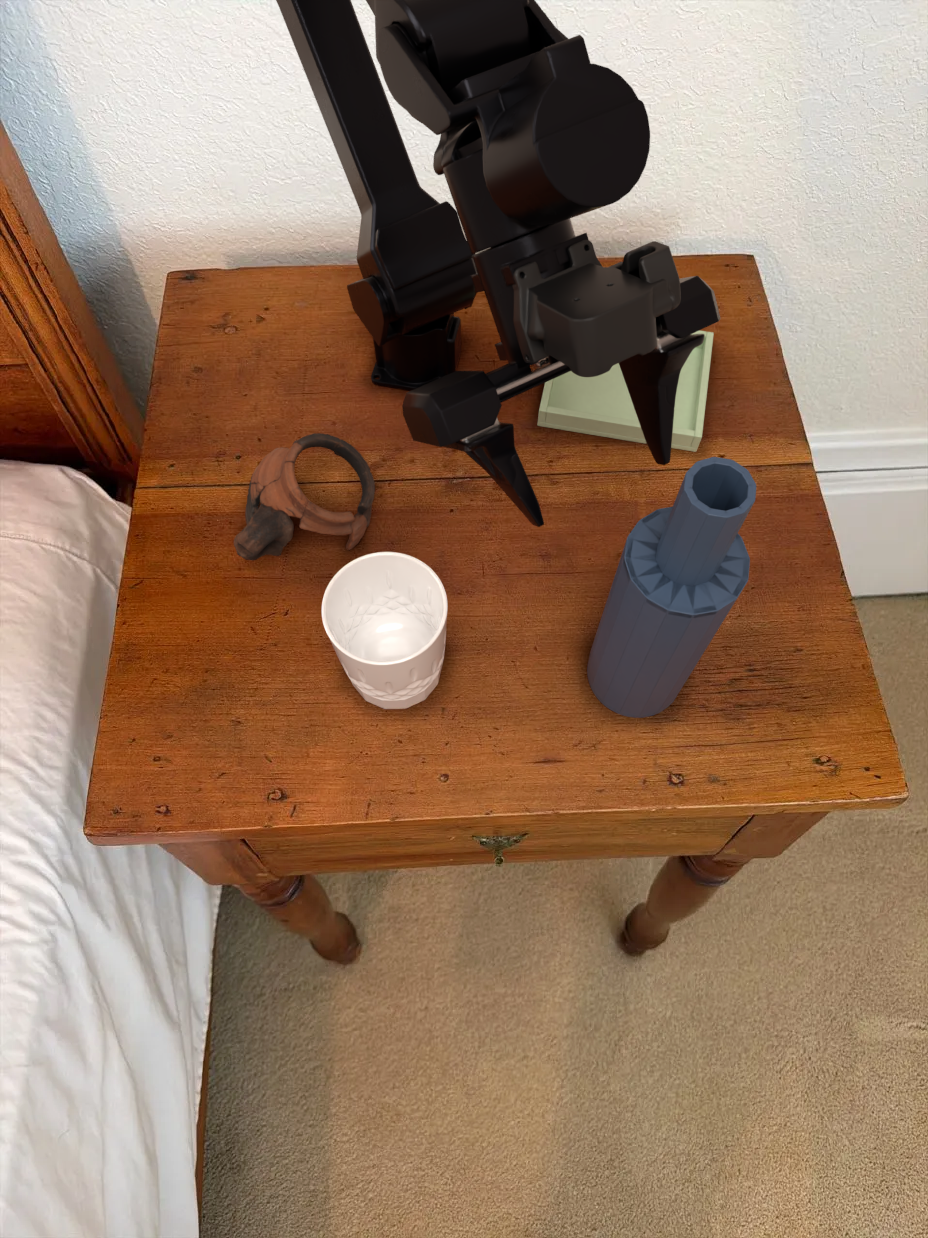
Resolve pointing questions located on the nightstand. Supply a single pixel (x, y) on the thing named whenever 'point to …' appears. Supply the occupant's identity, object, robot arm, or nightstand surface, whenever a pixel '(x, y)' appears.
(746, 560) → the carafe
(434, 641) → the white cup
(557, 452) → the nightstand surface
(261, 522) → the brown grey sculpted ring
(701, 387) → the tray
